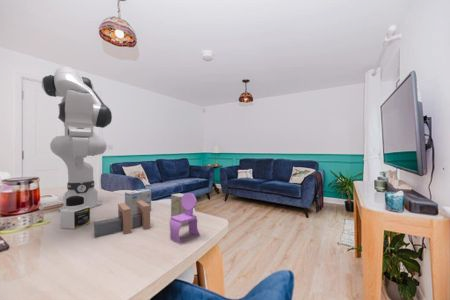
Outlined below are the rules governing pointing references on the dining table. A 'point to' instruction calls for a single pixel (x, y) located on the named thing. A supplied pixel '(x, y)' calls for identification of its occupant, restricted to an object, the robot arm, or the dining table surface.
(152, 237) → the dining table surface
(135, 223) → the steel block
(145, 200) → the light bulb box
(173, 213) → the skincare box
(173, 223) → the toy chair
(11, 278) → the dining table surface
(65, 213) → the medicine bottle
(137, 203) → the brick collars
